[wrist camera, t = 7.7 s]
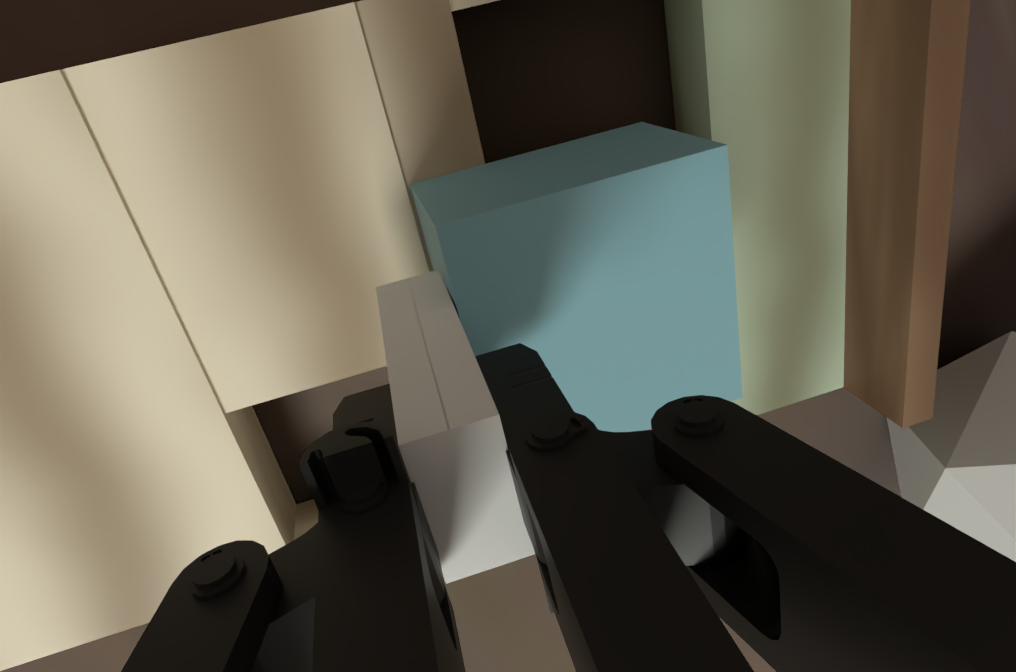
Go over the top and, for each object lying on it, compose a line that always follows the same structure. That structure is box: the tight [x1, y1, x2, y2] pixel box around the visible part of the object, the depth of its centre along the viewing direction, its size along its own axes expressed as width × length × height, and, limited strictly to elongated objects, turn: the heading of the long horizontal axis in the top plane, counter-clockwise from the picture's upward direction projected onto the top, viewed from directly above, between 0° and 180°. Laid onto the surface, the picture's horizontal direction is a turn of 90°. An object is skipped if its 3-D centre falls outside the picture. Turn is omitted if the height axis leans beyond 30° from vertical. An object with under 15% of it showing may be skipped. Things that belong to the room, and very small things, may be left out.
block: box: [410, 122, 743, 432], centre depth 16 cm, size 6×6×4 cm
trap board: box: [0, 0, 971, 671], centre depth 17 cm, size 28×14×5 cm, turn 102°
